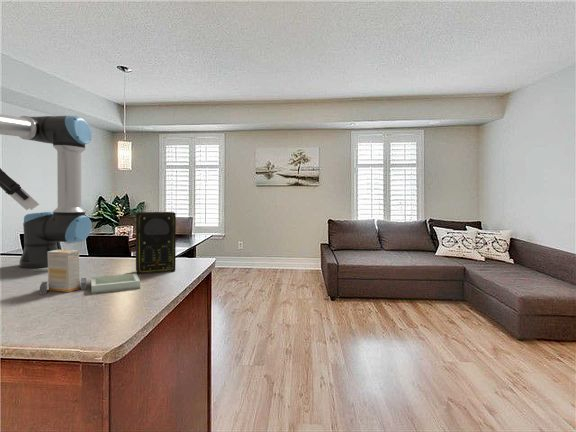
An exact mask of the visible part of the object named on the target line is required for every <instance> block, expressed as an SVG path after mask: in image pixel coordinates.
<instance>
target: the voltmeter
mask: <svg viewBox="0 0 576 432" xmlns="http://www.w3.org/2000/svg"><path fill="white" fill-rule="evenodd" d="M176 214H177V213H175V212H174V211H136V212H135V213H134V216H135V217H134V226H135V271H136V274H137V275H148V274H159V273H167V272H168V273H170V272H175V271H176V256H177V255H176V253H177V252H176V244H177V243H176V242H177V241H176V239H177V238H176V228H177V227H176V217H177V216H176Z"/></svg>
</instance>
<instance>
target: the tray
mask: <svg viewBox="0 0 576 432" xmlns="http://www.w3.org/2000/svg"><path fill="white" fill-rule="evenodd" d="M90 281H91V282H90V283H91V294H92V295H93V294H101V293H109V292H118V291H119V292H120V291H129V290H137V289H141V279H140V277H139V276H138V274H137V273H127V274H126V273H125V274H115V275H106V276H105V275H104V276H92V277H91V279H90Z"/></svg>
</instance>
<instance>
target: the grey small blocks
mask: <svg viewBox="0 0 576 432" xmlns="http://www.w3.org/2000/svg"><path fill="white" fill-rule="evenodd" d="M48 290H49V287H48V281H41V284H40V285H39V295H46V294H47V291H48ZM80 290H81V291H86V290H87V277H81V278H80Z"/></svg>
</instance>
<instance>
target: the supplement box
mask: <svg viewBox="0 0 576 432" xmlns="http://www.w3.org/2000/svg"><path fill="white" fill-rule="evenodd" d="M47 277H48V278H47V279H48V291H53V292H55V291H56V292H64V293H69V292H73V291H76V290H79V289H81V278H80V251H79V250H74V249H58V250H53V251H48V267H47Z"/></svg>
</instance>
